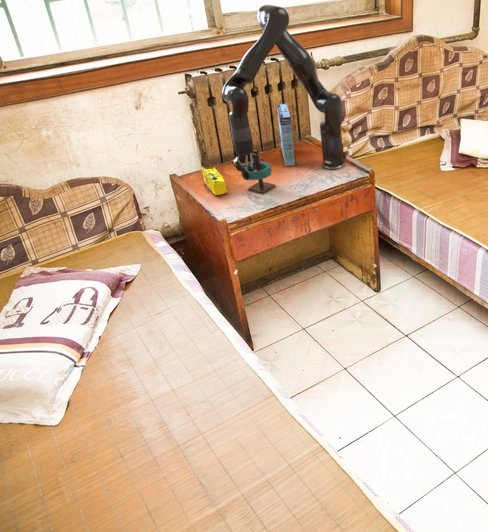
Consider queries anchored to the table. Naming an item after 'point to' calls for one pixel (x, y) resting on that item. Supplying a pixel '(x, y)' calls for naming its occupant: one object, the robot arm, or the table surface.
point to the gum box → (286, 134)
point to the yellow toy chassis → (214, 181)
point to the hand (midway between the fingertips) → (248, 178)
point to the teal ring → (260, 171)
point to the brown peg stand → (260, 182)
